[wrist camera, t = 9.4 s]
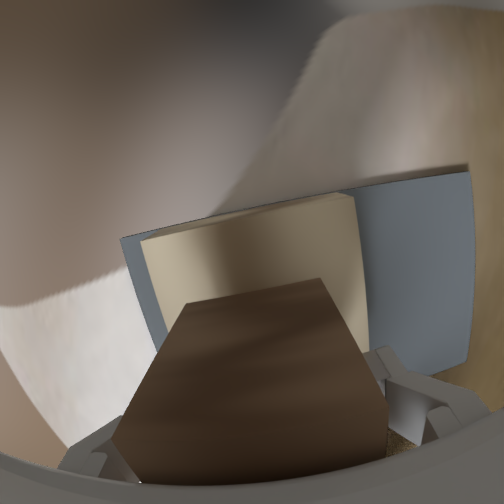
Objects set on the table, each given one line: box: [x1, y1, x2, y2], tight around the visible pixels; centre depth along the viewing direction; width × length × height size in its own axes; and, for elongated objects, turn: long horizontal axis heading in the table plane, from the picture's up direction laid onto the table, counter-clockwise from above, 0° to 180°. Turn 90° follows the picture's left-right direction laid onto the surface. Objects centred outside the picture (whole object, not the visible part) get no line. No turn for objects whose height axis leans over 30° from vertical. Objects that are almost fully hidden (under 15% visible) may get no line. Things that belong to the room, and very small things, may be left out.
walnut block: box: [111, 277, 389, 486], centre depth 8 cm, size 5×5×7 cm
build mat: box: [120, 171, 475, 376], centre depth 17 cm, size 20×13×1 cm, turn 102°
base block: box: [140, 192, 369, 353], centre depth 15 cm, size 9×9×3 cm
